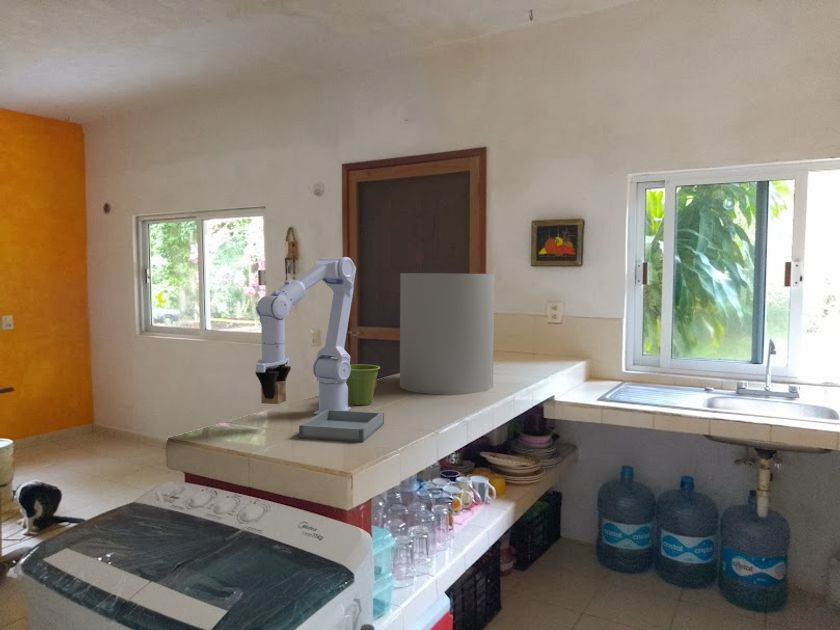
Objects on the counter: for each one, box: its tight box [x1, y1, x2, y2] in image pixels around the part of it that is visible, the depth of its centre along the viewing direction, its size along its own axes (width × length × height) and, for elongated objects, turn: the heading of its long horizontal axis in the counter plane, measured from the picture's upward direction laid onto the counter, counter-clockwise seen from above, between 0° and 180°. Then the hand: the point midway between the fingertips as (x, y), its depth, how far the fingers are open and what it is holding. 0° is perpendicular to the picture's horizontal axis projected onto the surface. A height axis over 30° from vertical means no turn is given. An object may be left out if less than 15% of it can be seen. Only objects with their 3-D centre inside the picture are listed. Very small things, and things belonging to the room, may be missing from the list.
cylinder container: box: [399, 272, 496, 395], centre depth 213 cm, size 34×33×40 cm
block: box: [260, 380, 287, 405], centre depth 152 cm, size 4×4×5 cm
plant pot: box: [345, 363, 381, 406], centre depth 182 cm, size 12×12×11 cm
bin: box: [298, 409, 385, 443], centre depth 150 cm, size 18×16×3 cm
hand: (273, 396), depth 152 cm, fingers closed on block, 4 cm apart
